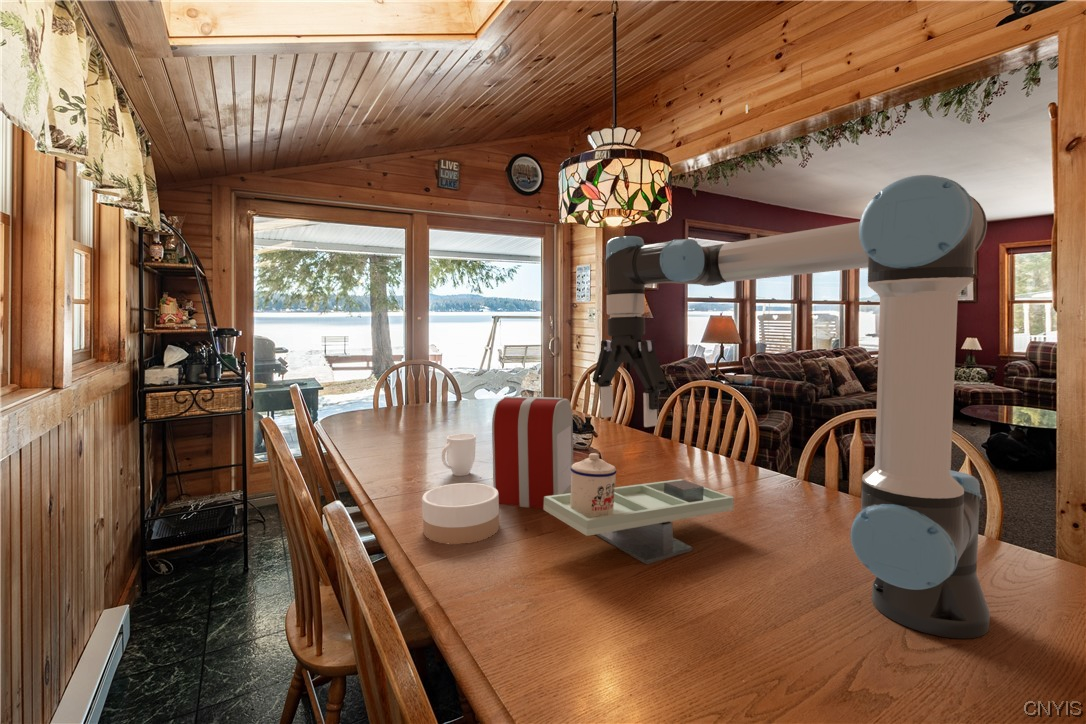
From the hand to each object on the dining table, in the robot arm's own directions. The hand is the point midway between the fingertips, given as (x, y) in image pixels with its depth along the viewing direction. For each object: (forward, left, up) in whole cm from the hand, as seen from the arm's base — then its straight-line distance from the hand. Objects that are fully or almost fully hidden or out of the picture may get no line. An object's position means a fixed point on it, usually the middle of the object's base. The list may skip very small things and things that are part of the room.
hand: (627, 421), depth 109 cm
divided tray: (+1, -4, -19) cm, 20 cm away
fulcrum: (+1, -4, -27) cm, 27 cm away
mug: (+70, +11, -27) cm, 76 cm away
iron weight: (+1, -16, -19) cm, 25 cm away
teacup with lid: (+2, +7, -18) cm, 19 cm away
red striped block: (+39, +1, -27) cm, 47 cm away
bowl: (+28, +26, -27) cm, 47 cm away
